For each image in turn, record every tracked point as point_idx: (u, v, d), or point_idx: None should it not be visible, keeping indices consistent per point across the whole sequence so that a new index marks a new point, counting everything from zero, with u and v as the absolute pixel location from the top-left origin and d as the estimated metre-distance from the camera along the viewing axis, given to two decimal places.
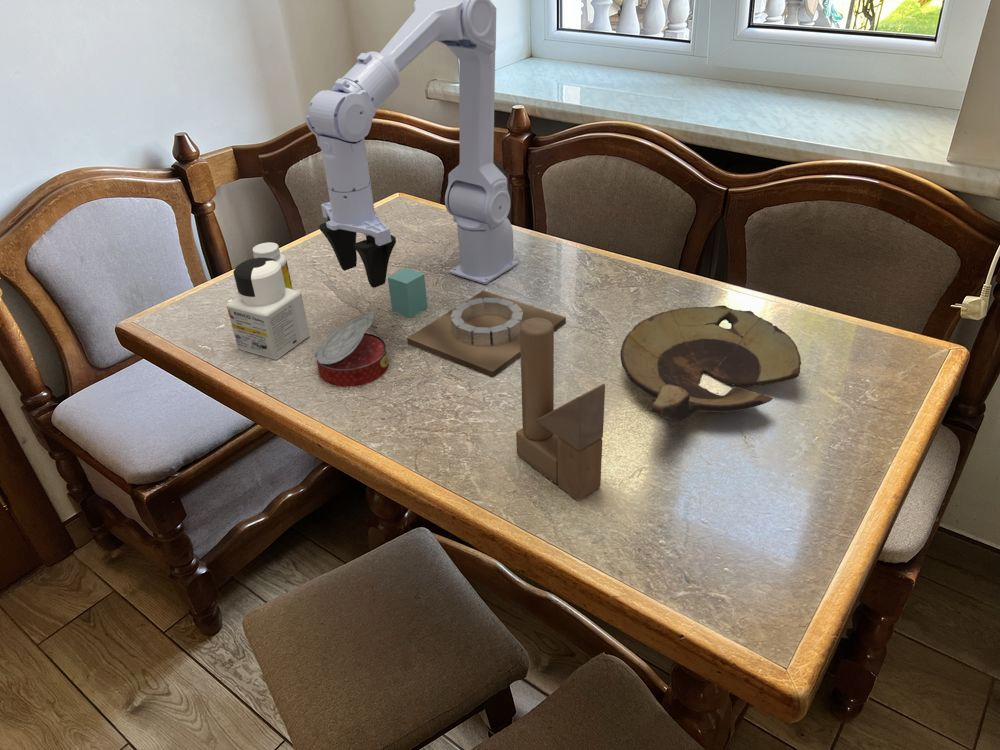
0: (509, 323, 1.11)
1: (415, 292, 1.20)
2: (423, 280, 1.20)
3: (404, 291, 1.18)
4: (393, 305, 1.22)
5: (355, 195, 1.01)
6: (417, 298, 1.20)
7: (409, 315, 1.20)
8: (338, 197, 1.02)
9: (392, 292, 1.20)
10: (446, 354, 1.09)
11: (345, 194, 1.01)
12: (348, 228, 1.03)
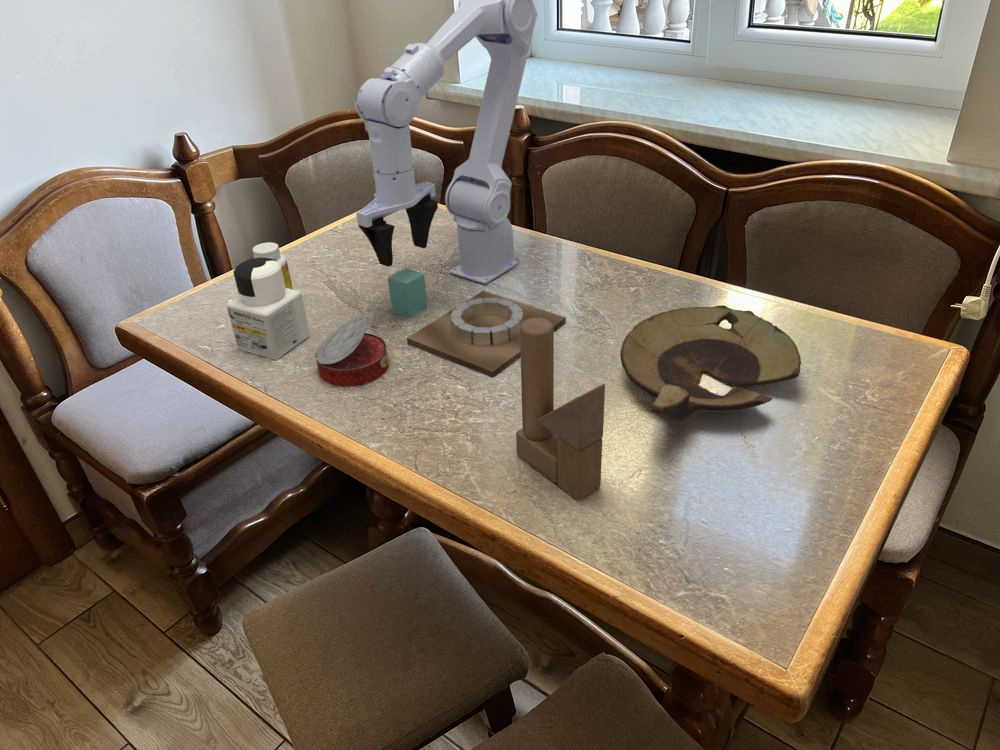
0: (509, 323, 1.11)
1: (415, 292, 1.20)
2: (423, 280, 1.20)
3: (404, 290, 1.18)
4: (393, 305, 1.22)
5: (376, 176, 1.09)
6: (417, 298, 1.20)
7: (409, 315, 1.20)
8: None
9: (392, 292, 1.20)
10: (446, 354, 1.09)
11: None
12: None
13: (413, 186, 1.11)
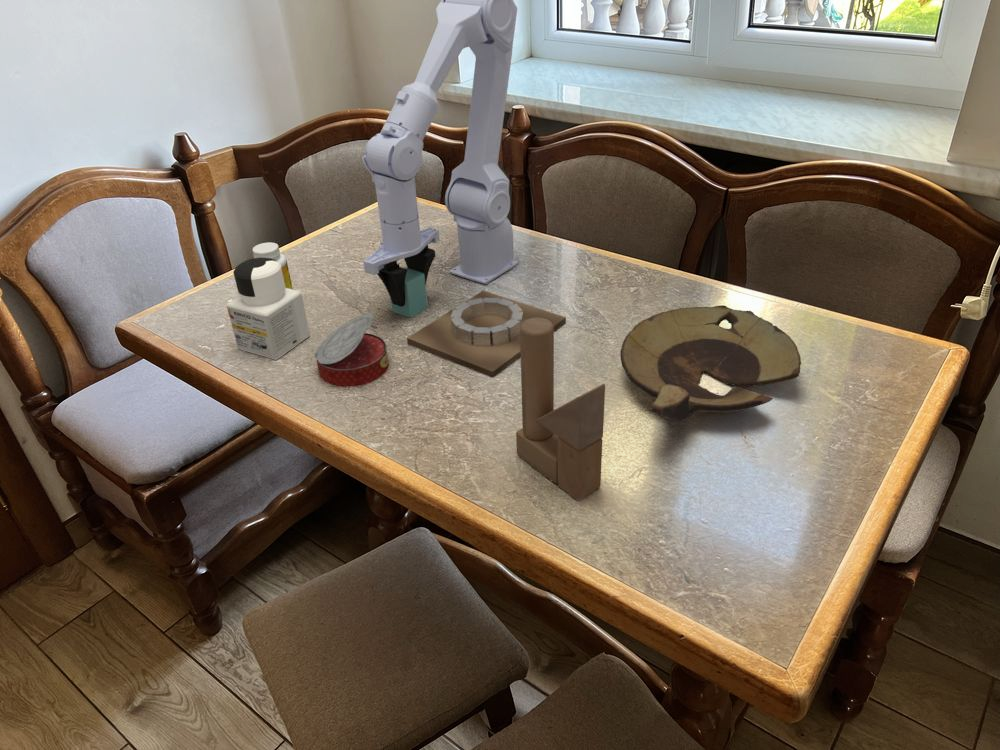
0: (509, 323, 1.11)
1: (415, 292, 1.19)
2: (423, 280, 1.20)
3: None
4: (393, 305, 1.22)
5: (382, 225, 1.13)
6: (417, 298, 1.20)
7: (409, 315, 1.20)
8: None
9: None
10: (446, 354, 1.09)
11: (380, 220, 1.14)
12: None
13: (418, 234, 1.15)
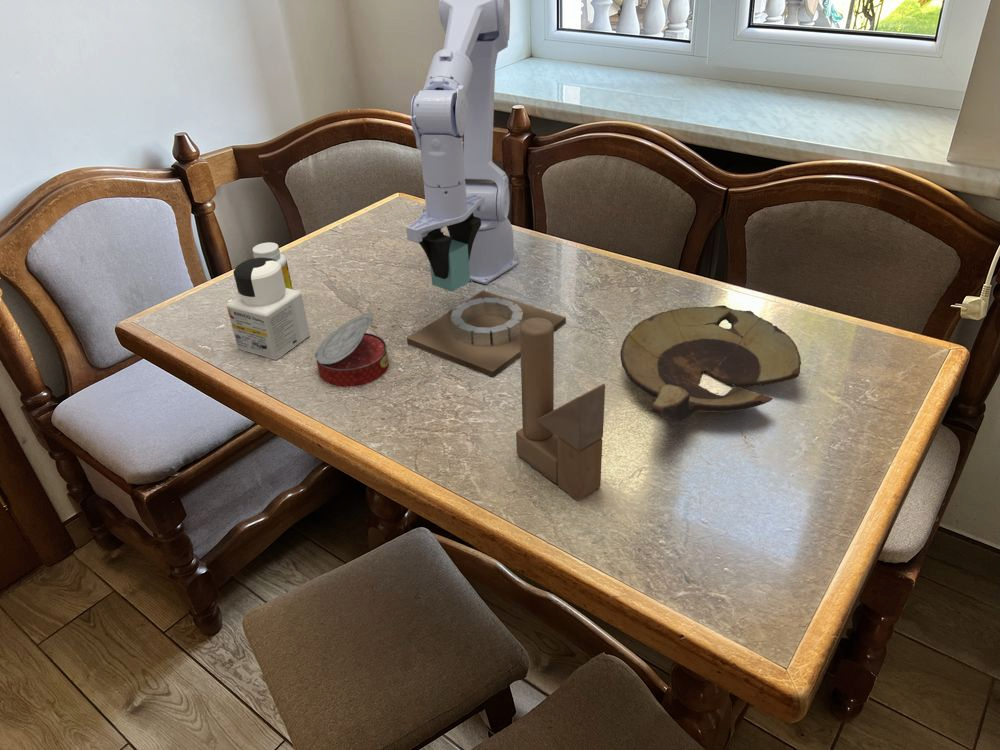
0: (509, 323, 1.11)
1: (458, 264, 1.11)
2: (466, 251, 1.12)
3: None
4: (433, 278, 1.14)
5: (427, 189, 1.05)
6: (459, 271, 1.12)
7: (451, 288, 1.12)
8: None
9: None
10: (446, 354, 1.09)
11: None
12: (423, 215, 1.08)
13: (464, 200, 1.06)
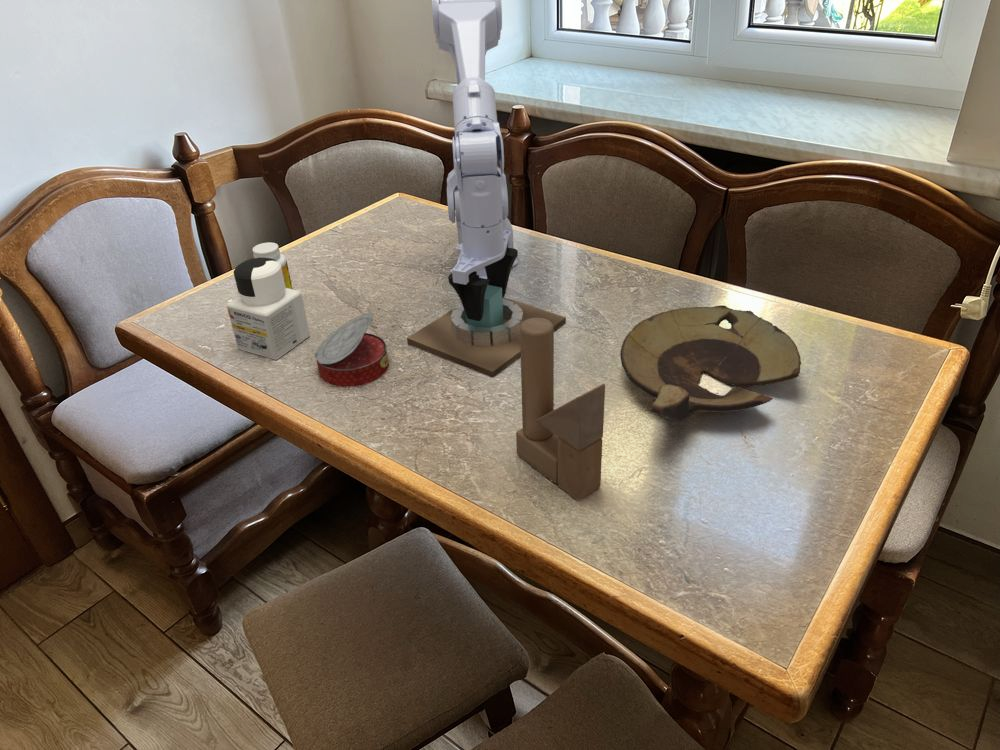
0: (509, 323, 1.11)
1: (495, 308, 1.12)
2: (501, 294, 1.13)
3: (486, 307, 1.11)
4: (469, 324, 1.14)
5: (467, 230, 1.04)
6: (496, 314, 1.13)
7: None
8: None
9: None
10: (446, 354, 1.09)
11: (462, 225, 1.05)
12: (460, 255, 1.07)
13: (502, 237, 1.07)
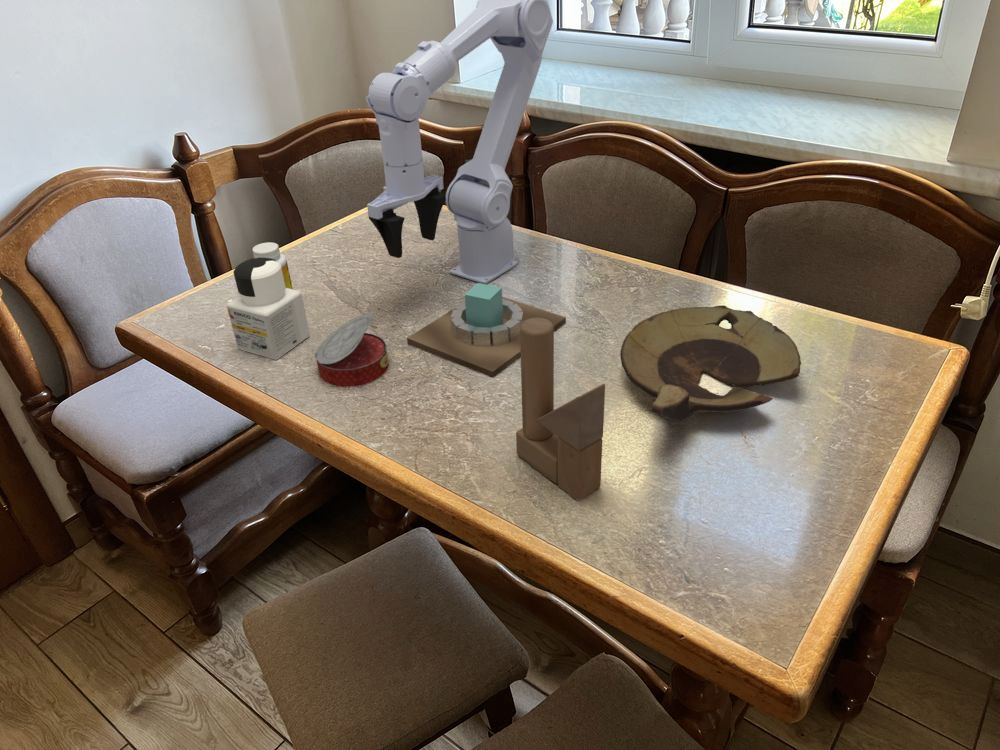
0: (509, 323, 1.11)
1: (495, 308, 1.12)
2: (501, 294, 1.13)
3: (486, 307, 1.11)
4: (469, 324, 1.14)
5: (386, 168, 1.11)
6: (496, 314, 1.13)
7: None
8: None
9: (469, 310, 1.12)
10: (446, 354, 1.09)
11: None
12: None
13: (422, 179, 1.13)
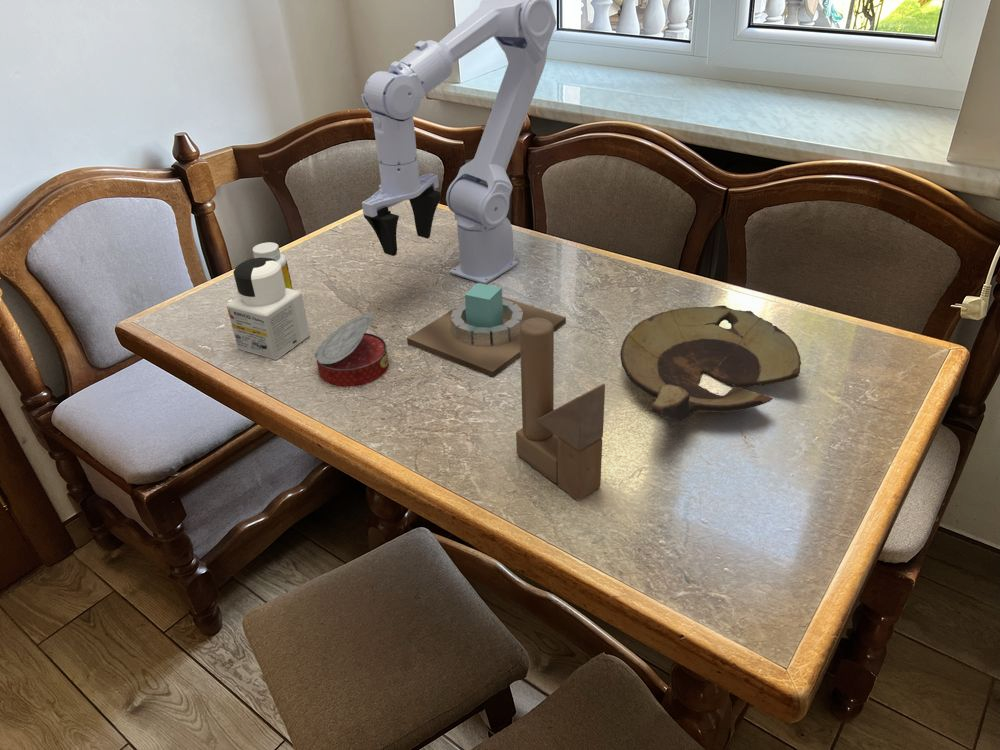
0: (509, 323, 1.11)
1: (495, 308, 1.12)
2: (501, 294, 1.13)
3: (486, 307, 1.11)
4: (469, 324, 1.14)
5: (381, 167, 1.12)
6: (496, 314, 1.13)
7: None
8: None
9: (469, 310, 1.12)
10: (446, 354, 1.09)
11: (378, 162, 1.13)
12: None
13: (417, 177, 1.14)
